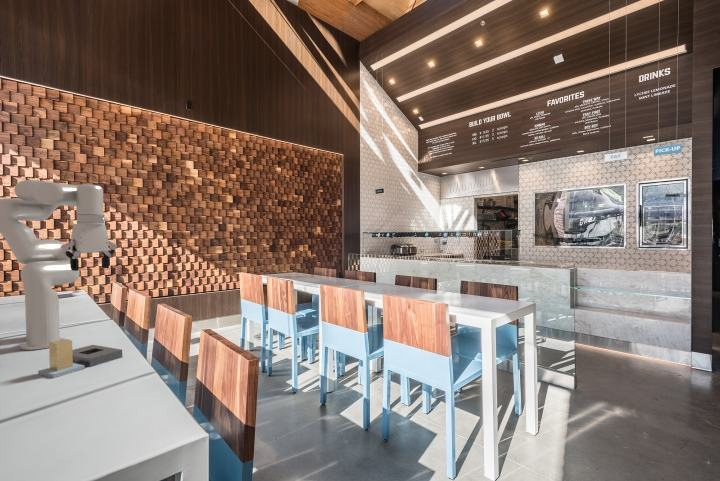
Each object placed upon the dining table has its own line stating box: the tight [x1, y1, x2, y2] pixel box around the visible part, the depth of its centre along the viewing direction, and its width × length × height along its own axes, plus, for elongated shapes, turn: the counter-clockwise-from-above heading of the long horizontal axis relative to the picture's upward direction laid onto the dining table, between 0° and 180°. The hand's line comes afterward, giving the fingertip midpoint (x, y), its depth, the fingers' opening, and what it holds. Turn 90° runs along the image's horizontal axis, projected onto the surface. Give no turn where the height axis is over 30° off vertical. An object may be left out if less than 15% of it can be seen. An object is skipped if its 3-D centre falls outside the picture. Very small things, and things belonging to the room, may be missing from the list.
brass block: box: [48, 338, 73, 371], centre depth 110 cm, size 4×4×8 cm
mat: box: [37, 363, 85, 379], centre depth 110 cm, size 8×8×1 cm
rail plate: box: [72, 344, 123, 368], centre depth 121 cm, size 16×10×2 cm, turn 66°
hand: (90, 269), depth 128 cm, fingers open, 9 cm apart
